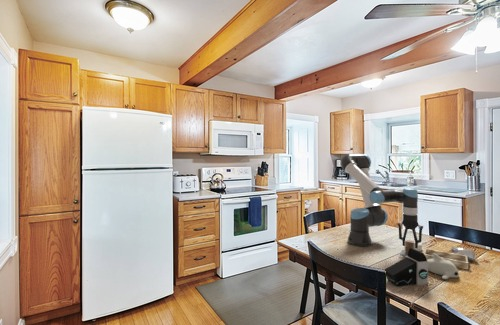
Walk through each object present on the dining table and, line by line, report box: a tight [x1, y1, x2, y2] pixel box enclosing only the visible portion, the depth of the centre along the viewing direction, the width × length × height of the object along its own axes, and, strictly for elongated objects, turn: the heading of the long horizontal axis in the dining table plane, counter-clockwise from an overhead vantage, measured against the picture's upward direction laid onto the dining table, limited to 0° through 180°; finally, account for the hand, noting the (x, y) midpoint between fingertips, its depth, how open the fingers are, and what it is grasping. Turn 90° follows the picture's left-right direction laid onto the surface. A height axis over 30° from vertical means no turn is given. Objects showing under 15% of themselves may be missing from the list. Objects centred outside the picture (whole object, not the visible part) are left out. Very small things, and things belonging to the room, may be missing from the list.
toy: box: [427, 253, 460, 280], centre depth 131 cm, size 17×19×10 cm
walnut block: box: [405, 239, 415, 253], centre depth 155 cm, size 4×4×7 cm
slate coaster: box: [399, 249, 408, 257], centre depth 155 cm, size 9×9×1 cm
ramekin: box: [413, 240, 423, 252], centre depth 164 cm, size 8×8×4 cm
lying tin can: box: [451, 246, 475, 262], centre depth 148 cm, size 10×6×6 cm, turn 52°
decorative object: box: [384, 248, 429, 288], centre depth 121 cm, size 8×18×15 cm, turn 101°
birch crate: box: [423, 248, 469, 270], centre depth 145 cm, size 20×12×4 cm, turn 52°
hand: (410, 252), depth 155 cm, fingers closed on walnut block, 4 cm apart
